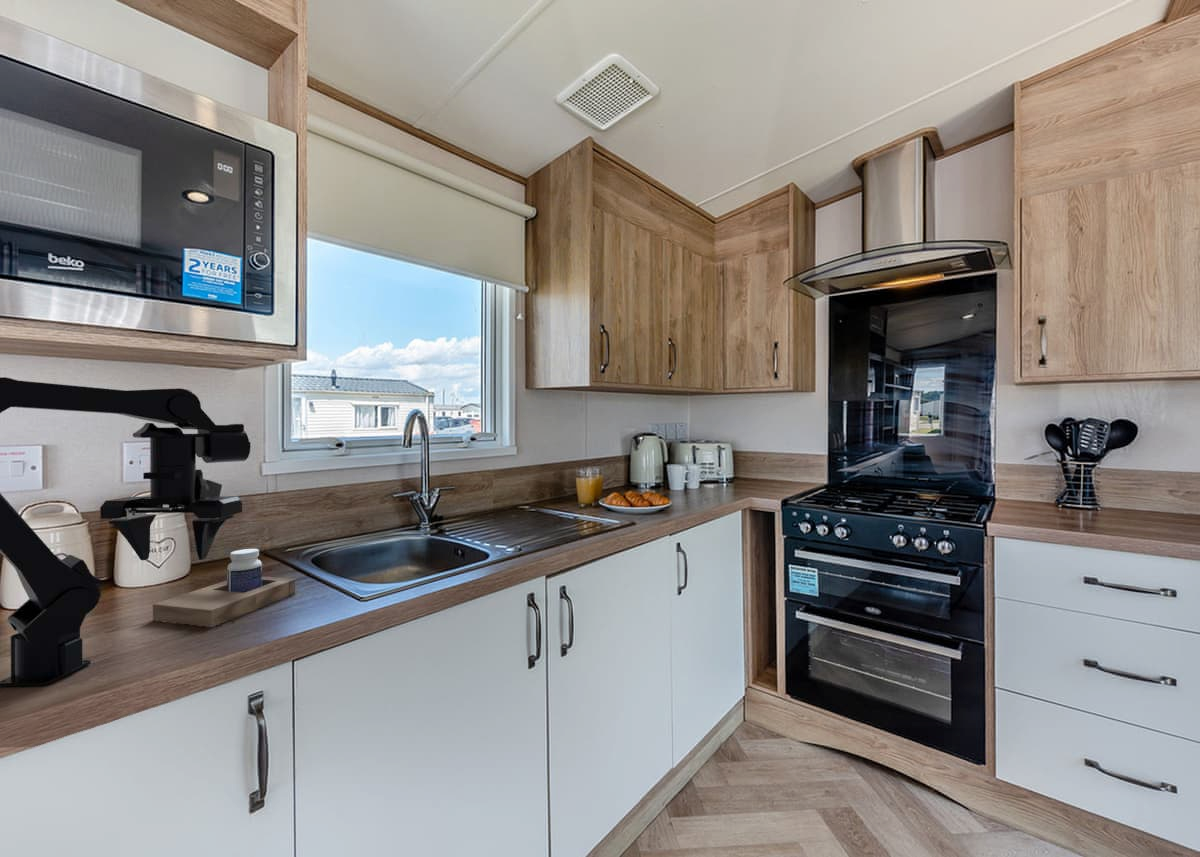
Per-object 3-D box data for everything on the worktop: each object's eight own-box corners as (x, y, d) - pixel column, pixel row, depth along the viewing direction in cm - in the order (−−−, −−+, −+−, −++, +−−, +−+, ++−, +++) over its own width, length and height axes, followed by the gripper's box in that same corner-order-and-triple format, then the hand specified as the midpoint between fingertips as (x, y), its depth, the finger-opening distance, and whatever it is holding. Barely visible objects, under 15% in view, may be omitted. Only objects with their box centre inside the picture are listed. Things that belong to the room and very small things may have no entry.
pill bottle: (268, 597, 102) (268, 548, 102) (240, 607, 97) (240, 555, 97) (249, 594, 104) (248, 546, 104) (220, 603, 99) (219, 553, 99)
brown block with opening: (211, 627, 87) (211, 610, 87) (152, 620, 90) (152, 604, 90) (295, 593, 105) (295, 579, 105) (243, 588, 108) (243, 574, 108)
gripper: (262, 461, 91) (262, 547, 91) (155, 461, 90) (156, 547, 91) (218, 466, 80) (218, 564, 80) (96, 466, 79) (96, 565, 79)
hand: (173, 559), depth 83 cm, fingers open, 9 cm apart
